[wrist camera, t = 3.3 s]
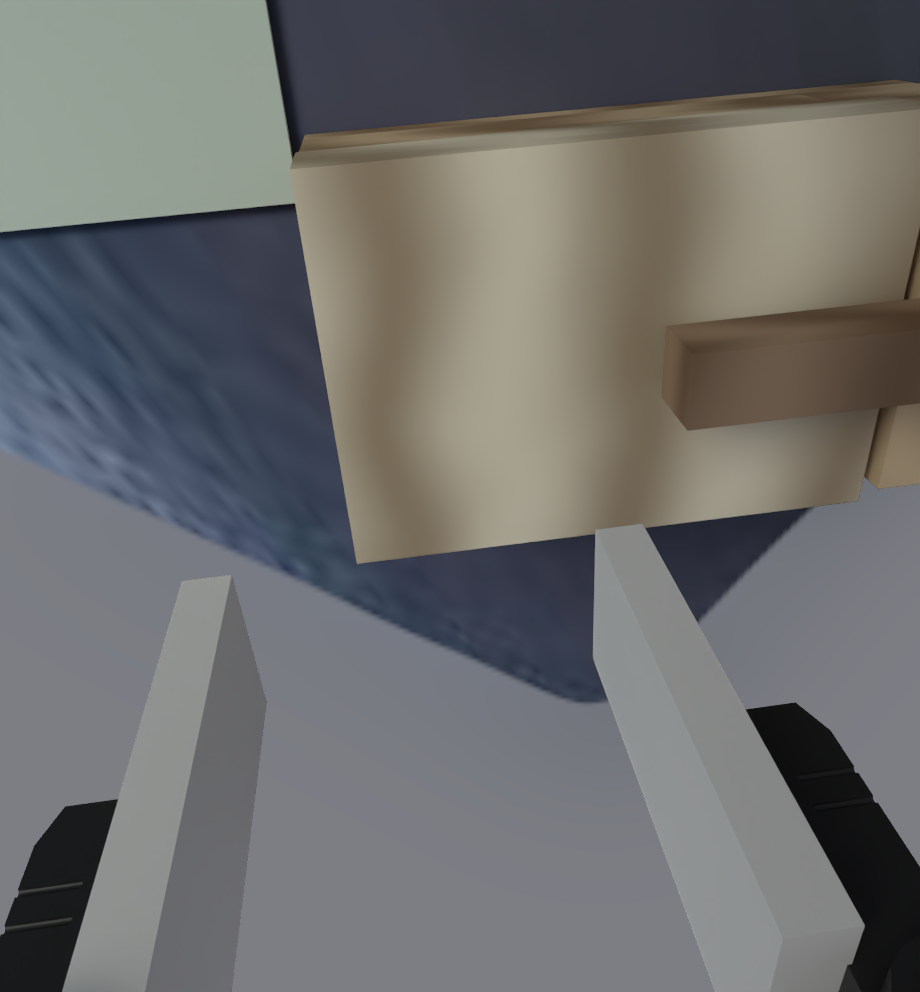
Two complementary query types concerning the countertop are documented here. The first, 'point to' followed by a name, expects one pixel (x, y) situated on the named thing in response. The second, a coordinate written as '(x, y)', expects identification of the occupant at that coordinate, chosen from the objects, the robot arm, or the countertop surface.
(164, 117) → the mat
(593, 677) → the countertop surface
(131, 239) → the countertop surface
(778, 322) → the bar
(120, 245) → the countertop surface
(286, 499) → the countertop surface
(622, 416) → the lid
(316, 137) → the toolbox
